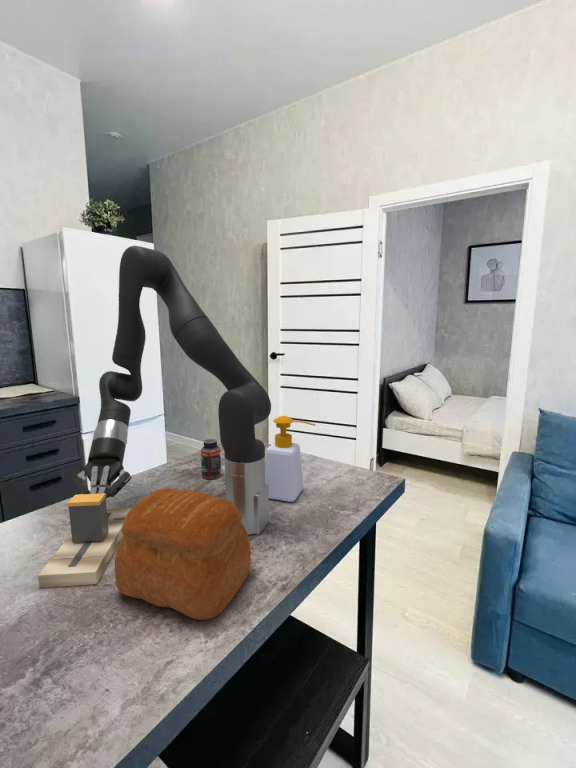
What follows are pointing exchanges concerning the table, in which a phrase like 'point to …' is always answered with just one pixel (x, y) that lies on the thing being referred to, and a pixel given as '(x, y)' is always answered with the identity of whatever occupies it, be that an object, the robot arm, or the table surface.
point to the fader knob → (88, 517)
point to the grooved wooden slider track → (84, 556)
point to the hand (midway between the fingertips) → (94, 516)
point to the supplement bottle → (211, 459)
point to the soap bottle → (284, 464)
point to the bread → (183, 552)
